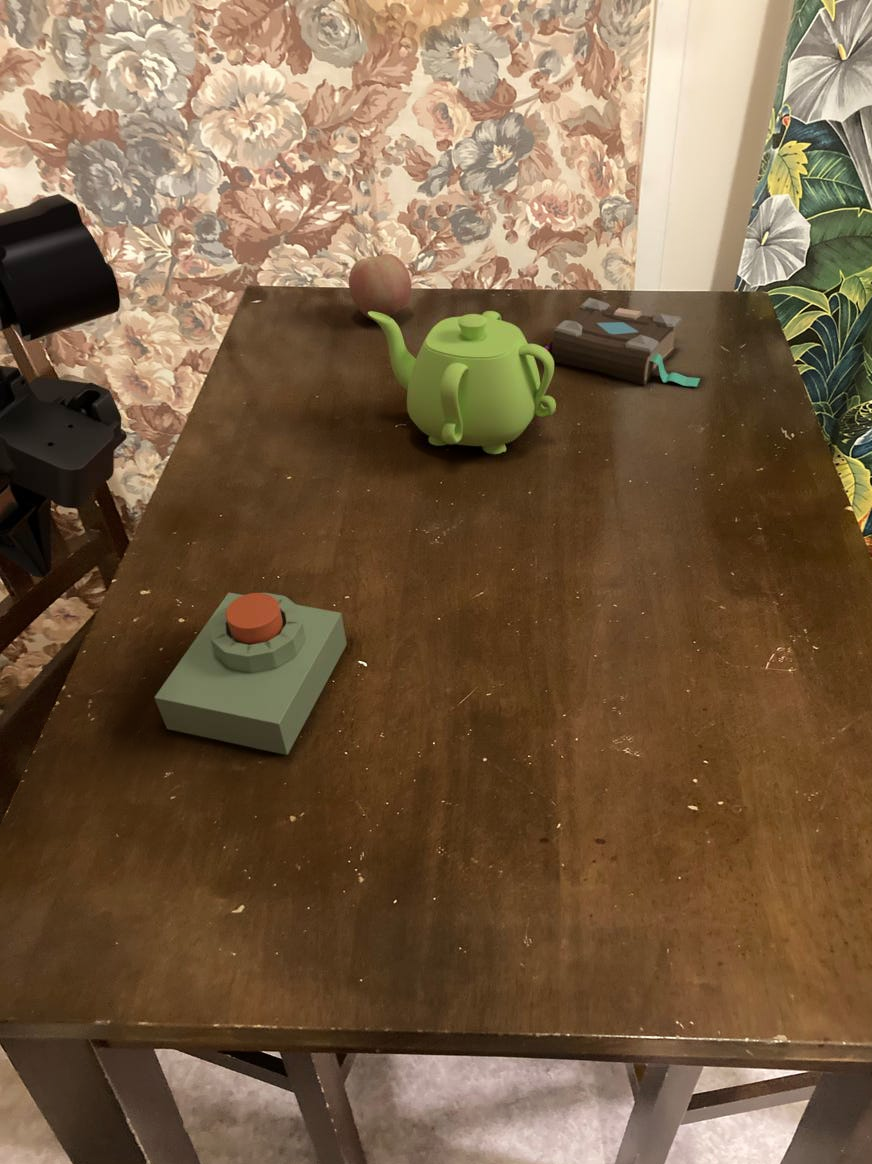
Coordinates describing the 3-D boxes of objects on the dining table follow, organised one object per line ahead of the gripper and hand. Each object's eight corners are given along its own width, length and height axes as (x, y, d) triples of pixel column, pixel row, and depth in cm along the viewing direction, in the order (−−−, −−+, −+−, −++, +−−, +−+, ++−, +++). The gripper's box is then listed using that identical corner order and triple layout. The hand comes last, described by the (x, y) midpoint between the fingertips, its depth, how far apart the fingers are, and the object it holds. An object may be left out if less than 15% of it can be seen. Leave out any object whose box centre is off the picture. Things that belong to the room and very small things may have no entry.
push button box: (287, 756, 66) (274, 707, 62) (166, 729, 68) (146, 680, 64) (347, 645, 74) (338, 595, 70) (237, 624, 76) (223, 575, 72)
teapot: (420, 483, 91) (412, 369, 82) (378, 415, 100) (366, 306, 91) (564, 448, 95) (570, 335, 86) (510, 385, 104) (511, 278, 95)
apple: (411, 302, 121) (406, 242, 115) (416, 328, 115) (411, 265, 110) (351, 307, 120) (344, 246, 114) (354, 333, 114) (346, 270, 109)
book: (723, 354, 109) (731, 314, 105) (688, 399, 101) (694, 358, 98) (575, 320, 116) (577, 282, 112) (532, 360, 109) (533, 320, 105)
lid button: (269, 649, 67) (265, 632, 66) (221, 640, 68) (216, 623, 66) (291, 613, 70) (287, 597, 68) (244, 605, 70) (240, 588, 69)
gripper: (-47, 476, 43) (65, 692, 54) (152, 309, 56) (210, 512, 67) (-233, 446, 45) (-89, 659, 56) (-1, 292, 58) (79, 491, 69)
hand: (42, 573), depth 62 cm, fingers closed
